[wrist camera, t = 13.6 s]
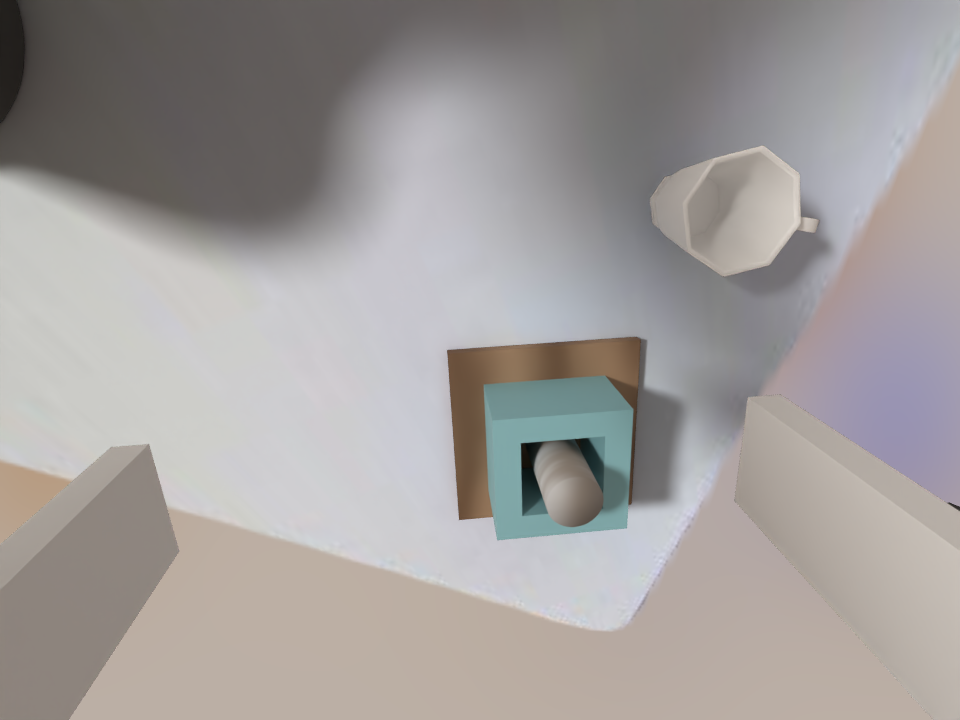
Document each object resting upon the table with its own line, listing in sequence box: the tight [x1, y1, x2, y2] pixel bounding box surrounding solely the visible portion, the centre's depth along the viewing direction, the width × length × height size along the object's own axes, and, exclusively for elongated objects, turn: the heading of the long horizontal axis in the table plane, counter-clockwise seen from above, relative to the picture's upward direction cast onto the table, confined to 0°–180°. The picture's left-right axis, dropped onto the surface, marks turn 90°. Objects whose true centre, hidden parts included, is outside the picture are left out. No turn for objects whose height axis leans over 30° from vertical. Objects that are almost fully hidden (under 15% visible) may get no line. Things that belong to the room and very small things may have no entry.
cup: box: [650, 146, 819, 277], centre depth 34 cm, size 7×10×8 cm
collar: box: [484, 376, 633, 540], centre depth 39 cm, size 9×9×6 cm
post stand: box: [447, 337, 641, 527], centre depth 37 cm, size 14×14×10 cm
